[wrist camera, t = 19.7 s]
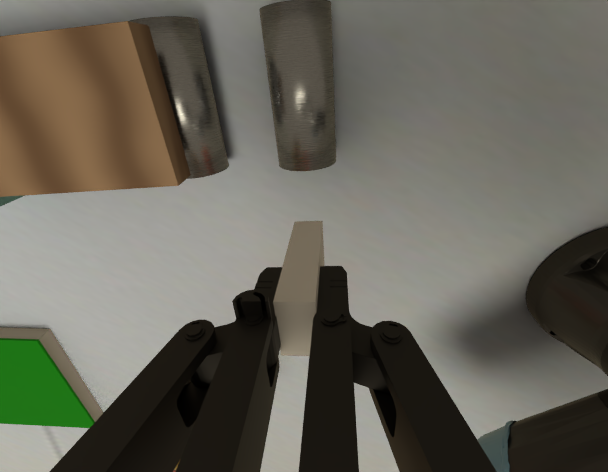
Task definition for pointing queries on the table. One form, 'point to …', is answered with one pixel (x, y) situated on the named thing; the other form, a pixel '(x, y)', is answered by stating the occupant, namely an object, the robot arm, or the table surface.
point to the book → (41, 382)
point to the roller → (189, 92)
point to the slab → (86, 112)
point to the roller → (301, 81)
